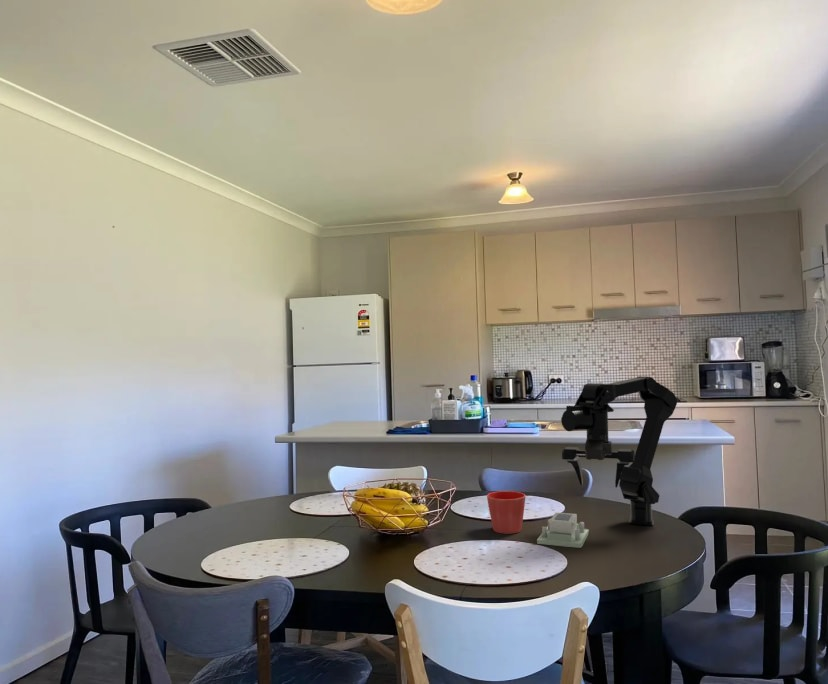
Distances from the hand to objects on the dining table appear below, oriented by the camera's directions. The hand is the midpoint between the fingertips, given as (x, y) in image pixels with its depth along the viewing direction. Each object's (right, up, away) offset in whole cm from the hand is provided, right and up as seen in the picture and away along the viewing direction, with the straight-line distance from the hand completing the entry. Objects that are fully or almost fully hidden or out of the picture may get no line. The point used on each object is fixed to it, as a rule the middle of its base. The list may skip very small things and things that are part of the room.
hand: (598, 486), depth 170 cm
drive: (-11, -11, -7) cm, 17 cm away
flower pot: (-25, -13, +2) cm, 28 cm away
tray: (-11, -12, -7) cm, 18 cm away
